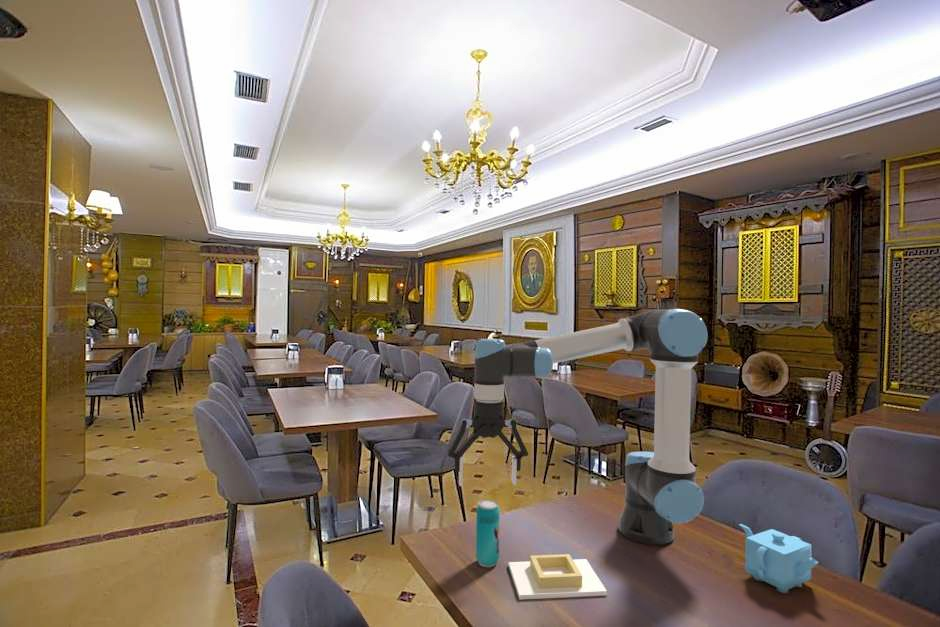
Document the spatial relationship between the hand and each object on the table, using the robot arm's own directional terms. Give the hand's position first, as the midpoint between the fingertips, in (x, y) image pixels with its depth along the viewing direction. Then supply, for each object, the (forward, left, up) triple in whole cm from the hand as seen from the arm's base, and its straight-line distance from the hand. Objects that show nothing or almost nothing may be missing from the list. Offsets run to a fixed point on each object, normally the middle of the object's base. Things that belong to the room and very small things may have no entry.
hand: (487, 483), depth 122 cm
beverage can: (0, 0, -20) cm, 20 cm away
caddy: (-15, +9, -20) cm, 27 cm away
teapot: (-68, +13, -20) cm, 72 cm away
